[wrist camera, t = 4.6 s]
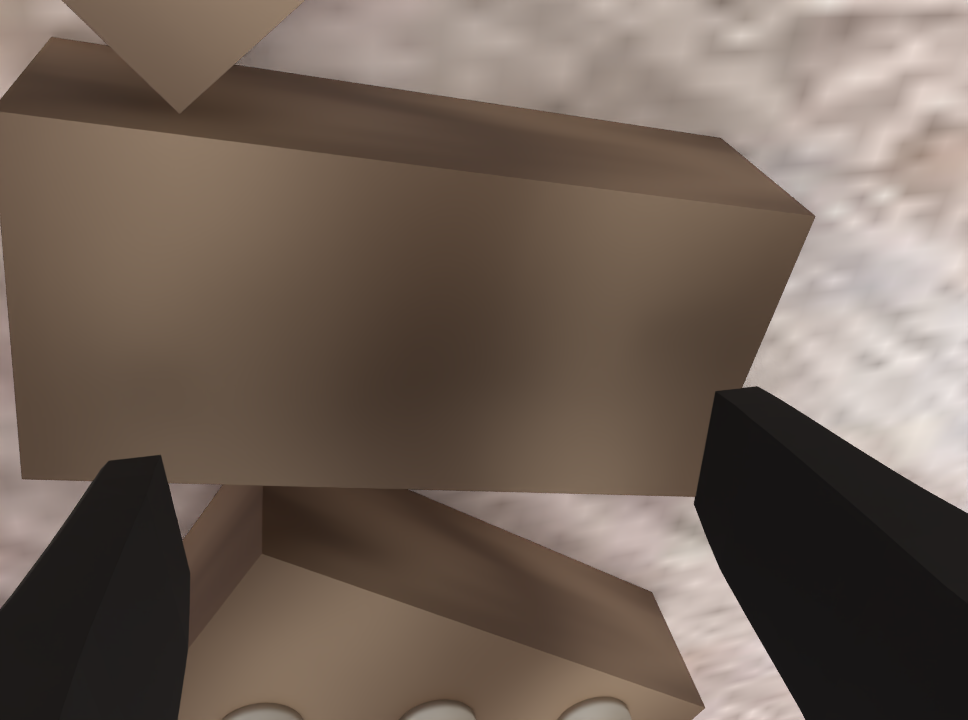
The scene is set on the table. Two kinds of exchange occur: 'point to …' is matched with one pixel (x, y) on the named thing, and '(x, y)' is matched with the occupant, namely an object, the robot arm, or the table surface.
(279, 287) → the plain block
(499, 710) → the pip block three
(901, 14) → the table surface
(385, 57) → the table surface
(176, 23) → the pip block five
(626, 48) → the table surface
